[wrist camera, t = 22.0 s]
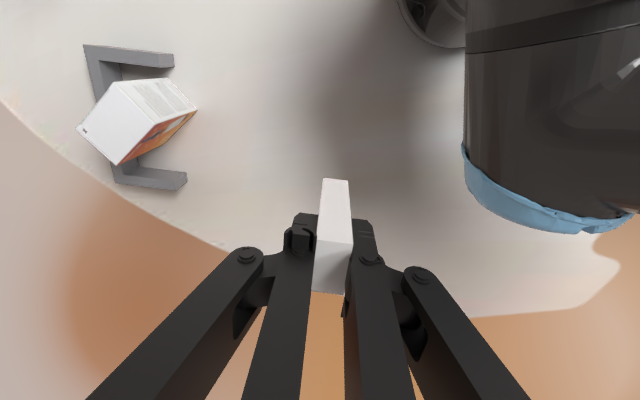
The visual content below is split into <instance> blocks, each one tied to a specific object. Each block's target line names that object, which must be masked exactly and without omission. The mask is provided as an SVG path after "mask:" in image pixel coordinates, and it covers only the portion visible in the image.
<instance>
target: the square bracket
mask: <svg viewBox="0 0 640 400" xmlns="http://www.w3.org/2000/svg"><path fill="white" fill-rule="evenodd" d="M83 48H84V53H85V57H86V61H87V65H88V69H89V74H90V78H91V82H92V86H93V91H94V95H95V99H96V103H98V101H99V100H100V99H101V98H102V96H103V95H104V94H105V92H106V91H107V90H108V88H109V87H110V86H111V84H112V83H113V82H117V81H122V77H121V72H120V66H119V63H126V64H134V65H142V66H151V67H159V68H163V67H175V66H174V57H173V54H167V53H159V52H151V51H143V50H134V49H126V48H118V47H110V46H100V45H83ZM110 163H111V167H112V171H113V175H114V180H115V183H118V184H126V185H134V186H142V187H150V188H159V189H167V190H175V191H176V190H177V189H179V188H180V187H181V186H182V185H184V184H185V183H186V182H187V174H186V173H185V172H177V171H169V170H161V169H153V168H145V167H139V166H138V161H137V157H135V158H133V159H130V160H128V161H126V162H124V163H122V164H120V165H118V166H116V165H115V164H114V163H112V162H111V161H110Z"/></svg>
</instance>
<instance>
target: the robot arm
mask: <svg viewBox="0 0 640 400" xmlns="http://www.w3.org/2000/svg"><path fill="white" fill-rule="evenodd" d="M398 4H399V7H400V10H401V13H402V15H403V17H404V19H405V21H406V23H407V24H408V26H409V27H410V28H411V30H412V31H413V32H414V33H415V34H416V35H417V36H419V37H420V38H421V39H423V40H424V41H426V42H428V43H430V44H432V45H435V46H439V47H444V48H458V47H465V85H464V128H463V142H462V144H461V152H462V155H463V158H464V167H465V181H466V184H467V187H468V189H469V191H470V192H471V193H472V194H473V195H474V197H475V198H476V200H477V201H478V202H479V203H480V204H481V205H483V206H484V207H485V208H487V209H488V210H490V211H491V212H493V213H495V214H497V215H499V216H501V217H503V218H505V219H507V220H510V221H512V222H515V223H517V224H520V225H523V226H527V227H530V228H534V229H538V230H543V231H548V232H554V233H562V234H577V233H579V232H580V231H581V230H583V231H585V232H587V233H590V234H594V233H603V232H607V231H610V230H613V229H616V228H618V227H619V226H621V225H622V224H624V223H625V222H626V221H627V220H629V219H630V218H632V217H633V216H634V214H635V213H636V214H640V0H398ZM344 289H345V297H344V303H343V307H342V312H341V317H343V323H344V324H343V325H344V326H343V327H344V375H345V376H344V378H345V400H416V397H415V393H414V389H413V384H412V380H411V375H410V371H409V367H410V370H411V372H412V374H413V376H414V378H415V380H416V383H417V385H418V386H419V389H420V391H421V393H422V395H423V398H424V400H531V399H530V398H529V397H528V395H527V394H526V393H525V391H524V390H523V389H522V387H521V386H520V385H519V384H518V382H517V381H516V380H515V379H514V377H513V376H512V374H511V373H510V372H509V371H508V369H507V368H506V367H505V365H504V364H503V363H502V362H501V360H500V359H499V358H498V356H497V355H496V354H495V352H494V351H493V350H492V348H491V347H490V346H489V345H488V343H487V342H486V341H485V339H484V338H483V337H482V336H481V334H480V333H479V332H478V331H477V329H476V328H475V326H474V325H473V324H472V323H471V321H470V320H469V319H468V317H467V316H466V315H465V313H464V312H463V311H462V310H461V308H460V307H459V306H458V304H457V303H456V302H455V301H454V299H453V298H452V297H451V295H450V294H449V293H448V291H447V290H446V289H445V288H444V286H443V285H442V284H441V282H440V281H439V280H438V278H437V277H436V276H435V275H434V274H433V273H432V272H430V271H428V270H427V269H424V268H421V267H417V266H411V267H408V268H406V269H405V270H404V273H403V272H400V271H397V270H394V269H392V268H390V267H388V266H386V265H385V262H384V260H383V258H382V257H381V256H380V255H379V254H378V251H377V247H376V242H375V238H374V233H373V227H372V225H371V224H370V223H369V222H368V221H367V220H360V219H352V218H351V211H350V199H349V188H348V181H347V180H339V179H331V178H323V184H322V192H321V200H320V208H319V215H314V214H306V213H299V214H298V215H296V216H295V217H294V220H293V224H292V227H290V228H288V229H287V230H286V231H285V232H284V245H283V251H281V252H280V253H277V254H273V255H265V256H263V253H262V252H261V250H259V249H257V248H255V247H241V248H238V249H235V250H234V251H233V252H231V253H230V254H229V255H228V256H227V257H226V258H225V259H224V260H223V261H222V262H221V263H220V264H219V265H218V266H217V267H216V268H215V270H213V271H212V272H211V273H210V274H209V275H208V276H207V277H206V279H204V281H202V282H201V283H200V284H199V285H198V286H197V288H196V289H195V290H194V291H193V292H192V293H191V294H190V295H189V296H188V297H187V298H186V299H185V300H184V301H183V302H182V303H181V304H180V305H179V306H178V307H177V308H176V309H175V310H174V311H173V312H172V313H171V314H170V315H169V316H168V317H167V318H166V319H165V320H164V321H163V322H162V323H161V324H160V325H159V326H158V327H157V328H156V329H155V330H154V331H153V332H152V333H151V334H150V335H149V336H148V337H147V338H146V339H145V340H144V341H143V342H142V343H141V344H140V345H139V346H138V347H137V348H136V349H135V350H134V351H133V352H132V353H131V354H130V355H129V356H128V357H127V358H126V359H125V360H124V361H123V362H122V363H121V364H120V365H119V366H118V367H117V368H116V369H115V370H114V371H113V372H112V373H111V374H110V375H109V376H108V377H107V378H106V379H105V380H104V381H103V382H102V383H101V384H100V385H99V386H98V387H97V388H96V389H95V390H94V391H93V393H91V394H90V395H89V396H88V397H87V398H86V399H85V400H205V398H206V396H207V395H208V394H209V392H210V390H211V389H212V387H213V386H214V384H215V383H216V381H217V379H218V378H219V376H220V375H221V373H222V371H223V370H224V368H225V367H226V365H227V363H228V362H229V360H230V359H231V357H232V356H233V354H234V352H235V351H236V349H237V348H238V346H239V344H240V343H241V341H242V340H243V338H244V336H245V335H246V333H247V332H248V330H249V328H250V327H251V325H252V324H253V322H254V321H255V319H256V317H257V316H258V314H259V313H260V311H261V309H262V307H263V306H267V309H266V313H265V316H264V320H263V323H262V327H261V330H260V334H259V337H258V341H257V345H256V348H255V352H254V355H253V359H252V362H251V366H250V369H249V373H248V377H247V380H246V384H245V387H244V391H243V395H242V398H241V400H299V395H300V387H301V378H302V369H303V359H304V351H305V341H306V333H307V324H308V314H309V305H310V296H311V291H315V292H323V293H331V294H339V295H343V294H344ZM408 365H409V367H408Z"/></svg>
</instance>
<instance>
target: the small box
mask: <svg viewBox="0 0 640 400" xmlns="http://www.w3.org/2000/svg"><path fill="white" fill-rule="evenodd" d="M196 111H197V109H196V108H195V106H194V105H193V104H192V103H191V102H190V101H189V100H188V99H187V98H186V97H185V96H184V95H183V93H182V92H181V91H180V90H179V89H178V88H177V87H176V86H175V85H174V84H173V83H172V82H171V81H170V80H169V78H167V77H166V78H154V79H142V80H129V81H117V82H113V83H112V84H111V86H110V87H109V88H108V90H107V91H106V92H105V94H104V95H103V96H102V98H101V99H100V100H99V101H98V103H97V104H96V105H95V106H94V107H93V109H92V110H91V111H90V112H89V113H88V115H87V116H86V117H85V118H84V119H83V120H82V122H81V123H80V124H79V125H78V126H77V127H76V128H75V130H76V131H77V132H79V133H80V134H81V135H82V136H83V137H84V138H85V139H86V140H87V141H89V142H90V143H91V144H92V145H93V146H94V147H95V148H96V149H98V150H99V151H100V152H101V153H102V154H103V155H104V156H105V157H107V158H108V159H109V160H110V161H111V162H112V163H114V164H115V165H116V166H118V165H120V164H122V163H124V162H126V161H128V160H130V159H133V158H135V157H137V156H139V155H141V154H144V153H146V152H148V151H150V150H152V149H154V148H157V147H159V146H161V145H163V144H165V143H166V142H167V141H168V140H169V138H170V137H171V136H172V135H173V134H174V133H175V132H176V131H177V130H178V129H179V128H180V127H181V126H182V125H183V124H184V123H185V122H186V121H187V120H188V119H189V118H190V117H191V116H192V115H193V114H194V113H195V112H196Z"/></svg>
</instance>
